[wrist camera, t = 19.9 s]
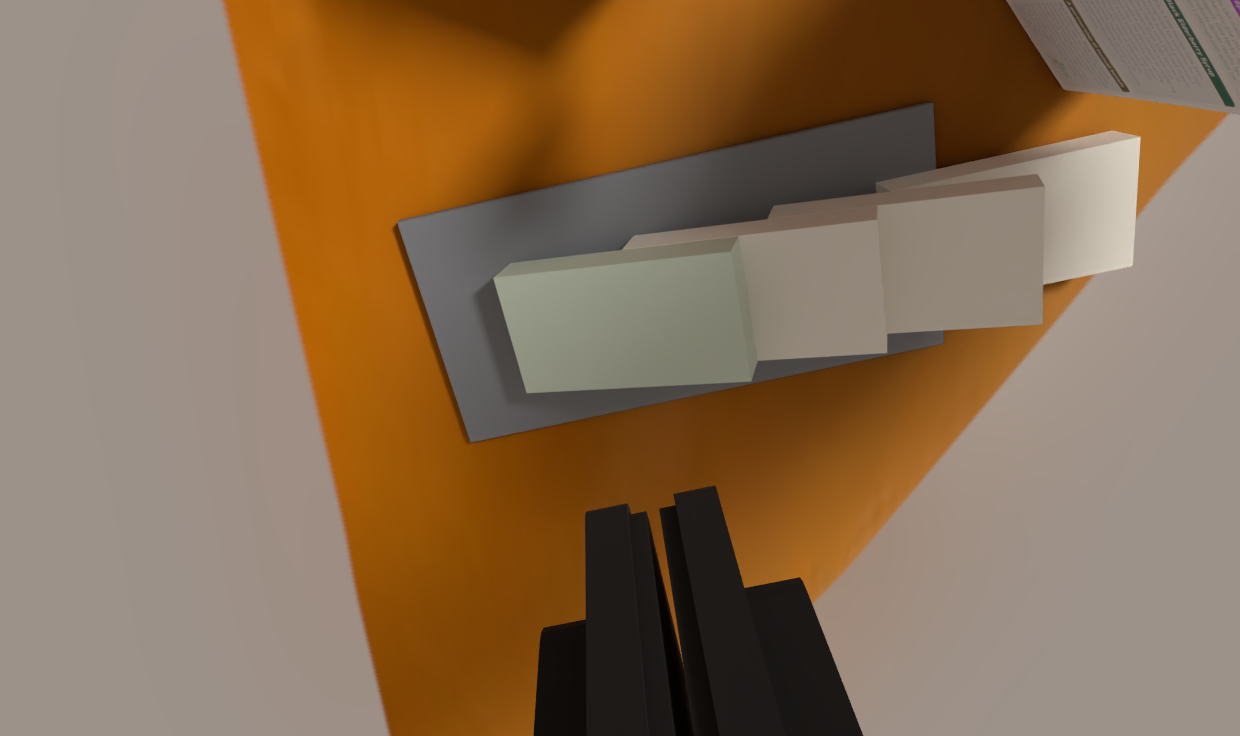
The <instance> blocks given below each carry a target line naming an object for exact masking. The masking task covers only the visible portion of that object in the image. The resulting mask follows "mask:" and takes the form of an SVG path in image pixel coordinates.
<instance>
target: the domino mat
mask: <svg viewBox="0 0 1240 736" xmlns="http://www.w3.org/2000/svg"><path fill="white" fill-rule="evenodd" d="M935 169H936V152H935V130H934V107H933V103H931V102H927V103H922V104H918V105H913V106H909V107H904V108H900V109H895V110H891V111H886V112H882V113H877V114H873V115H868V116H864V117H859V118H855V119H850V120H846V121H841V122H837V123H832V124H828V125H823V126H819V127H815V128H810V129H806V130H801V131H797V132H792V133H788V134H783V135H779V136H774V137H770V138H765V139H761V140H756V141H752V142H747V143H743V144H738V145H734V146H729V147H725V148H720V149H716V150H711V151H707V152H703V153H698V154H694V155H689V156H685V157H680V158H676V159H671V160H667V161H662V162H658V163H653V164H649V165H644V166H640V167H635V168H631V169H626V170H622V171H617V172H613V173H608V174H604V175H599V176H595V177H590V178H586V179H582V180H577V181H573V182H568V183H564V184H559V185H555V186H550V187H546V188H541V189H537V190H532V191H528V192H523V193H519V194H514V195H510V196H505V197H501V198H496V199H492V200H487V201H483V202H478V203H474V204H470V205H465V206H461V207H456V208H452V209H447V210H443V211H438V212H434V213H429V214H425V215H420V216H416V217H411V218H407V219H402V220H399V221H398V222H397V224H398V227H399V230H400V233H401V236H402V239H403V242H404V245H405V248H406V251H407V254H408V257H409V260H410V263H411V265H412V268H413V271H414V274H415V277H416V280H417V283H418V286H419V289H420V292H421V295H422V298H423V301H424V304H425V307H426V310H427V313H428V316H429V319H430V322H431V325H432V328H433V331H434V334H435V337H436V340H437V343H438V346H439V349H440V352H441V355H442V358H443V361H444V364H445V367H446V370H447V373H448V376H449V379H450V382H451V385H452V388H453V391H454V394H455V397H456V400H457V403H458V406H459V409H460V412H461V415H462V418H463V421H464V424H465V427H466V430H467V433H468V436H469V439H470V442H476V441H481V440H485V439H490V438H495V437H500V436H505V435H509V434H514V433H519V432H524V431H529V430H533V429H538V428H543V427H548V426H552V425H557V424H562V423H567V422H572V421H576V420H581V419H586V418H591V417H596V416H600V415H605V414H610V413H615V412H619V411H624V410H629V409H634V408H639V407H643V406H648V405H653V404H658V403H663V402H667V401H672V400H677V399H682V398H686V397H691V396H696V395H701V394H706V393H710V392H715V391H720V390H725V389H730V388H734V387H739V386H744V385H749V384H753V383H758V382H763V381H768V380H773V379H777V378H782V377H787V376H792V375H797V374H801V373H806V372H811V371H816V370H820V369H825V368H830V367H835V366H840V365H844V364H849V363H854V362H859V361H864V360H868V359H873V358H878V357H883V356H887V355H892V354H897V353H902V352H907V351H911V350H916V349H921V348H926V347H931V346H935V345H940V344H944V333H943V330H941V331H924V332H907V333H890V334H887V353H880V354H863V355H846V356H830V357H813V358H796V359H779V360H763V361H757V365H756V368H755V371H754V374H753V378H752V381H751V382H733V383H714V384H695V385H676V386H656V387H637V388H618V389H598V390H579V391H560V392H541V393H526V389H525V386H524V382H523V379H522V375H521V372H520V368H519V365H518V362H517V358H516V355H515V351H514V348H513V344H512V341H511V337H510V334H509V331H508V327H507V324H506V320H505V317H504V313H503V310H502V306H501V303H500V300H499V296H498V293H497V289H496V286H495V282H494V279H493V278H494V277H495V276H496V275H497V274H498V273H500V272H501V271H502V270H503V269H504V268H505V267H507V266H508V265H509V264H510V263H514V262H523V261H531V260H540V259H548V258H557V257H565V256H574V255H583V254H591V253H600V252H608V251H617V250H622V249H623V248H624V246H625V245H626V244H627V243H628V242H629V241H630V240H631V238H632V237H633V236H634V235H642V234H650V233H659V232H667V231H675V230H683V229H692V228H700V227H708V226H716V225H724V224H733V223H741V222H749V221H757V220H765V219H768V216H769V214H770V212H771V210H772V208H773V206H775V205H783V204H792V203H800V202H808V201H816V200H825V199H833V198H841V197H850V196H858V195H866V194H874V193H876V182H880V181H885V180H890V179H894V178H899V177H903V176H908V175H912V174H917V173H921V172H926V171H931V170H935Z"/></svg>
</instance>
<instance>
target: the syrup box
mask: <svg viewBox="0 0 1240 736" xmlns="http://www.w3.org/2000/svg"><path fill="white" fill-rule="evenodd" d="M1006 1H1007V3H1008V4H1009V6H1010V7H1011V9H1012V11H1013V12H1014V14H1015V15H1016V17H1017V19H1018V20H1019V22H1020V23H1021V25H1022V27H1023V28H1024V30H1025V31H1026V33H1027V34H1028V36H1029V37H1030V39H1031V41H1032V42H1033V44H1034V45H1035V47H1036V48H1037V50H1038V51H1039V53H1040V54H1041V56H1042V57H1043V59H1044V61H1045V62H1046V64H1047V65H1048V67H1049V68H1050V70H1051V71H1052V73H1053V75H1054V76H1055V78H1056V79H1057V81H1058V82H1059V83H1060V85H1061V87H1062V88H1063V89H1065V90H1068V91H1076V92H1085V93H1095V94H1103V95H1111V96H1118V97H1126V98H1132V99H1139V100H1146V101H1153V102H1160V103H1167V104H1174V105H1181V106H1188V107H1194V108H1201V109H1207V110H1214V111H1220V112H1226V113H1232V114H1239V115H1240V0H1006Z"/></svg>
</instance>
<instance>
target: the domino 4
mask: <svg viewBox="0 0 1240 736" xmlns="http://www.w3.org/2000/svg"><path fill="white" fill-rule="evenodd" d="M1139 153H1140V137H1139V136H1135V135H1130V134H1126V133H1121V132H1117V131H1108V132H1104V133H1099V134H1095V135H1090V136H1086V137H1081V138H1076V139H1072V140H1067V141H1063V142H1058V143H1054V144H1049V145H1045V146H1040V147H1035V148H1031V149H1026V150H1022V151H1017V152H1013V153H1008V154H1004V155H999V156H994V157H990V158H985V159H981V160H976V161H972V162H967V163H962V164H958V165H953V166H949V167H944V168H940V169H935V170H931V171H926V172H921V173H917V174H912V175H908V176H903V177H899V178H894V179H890V180H885V181H880V182H876V193H883V192H891V191H899V190H908V189H916V188H924V187H932V186H941V185H949V184H957V183H966V182H974V181H982V180H990V179H999V178H1007V177H1015V176H1024V175H1032V174H1038V175H1039V177H1040V179H1041V180H1042V182H1043V184H1044V186H1045V209H1044V265H1043V285H1045V284H1049V283H1054V282H1059V281H1064V280H1068V279H1073V278H1078V277H1083V276H1087V275H1092V274H1097V273H1102V272H1106V271H1111V270H1115V269H1120V268H1125V267H1130V266H1132V265H1133V251H1134V250H1133V249H1134V235H1135V234H1134V233H1135V218H1136V202H1137V186H1138V169H1139Z"/></svg>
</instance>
